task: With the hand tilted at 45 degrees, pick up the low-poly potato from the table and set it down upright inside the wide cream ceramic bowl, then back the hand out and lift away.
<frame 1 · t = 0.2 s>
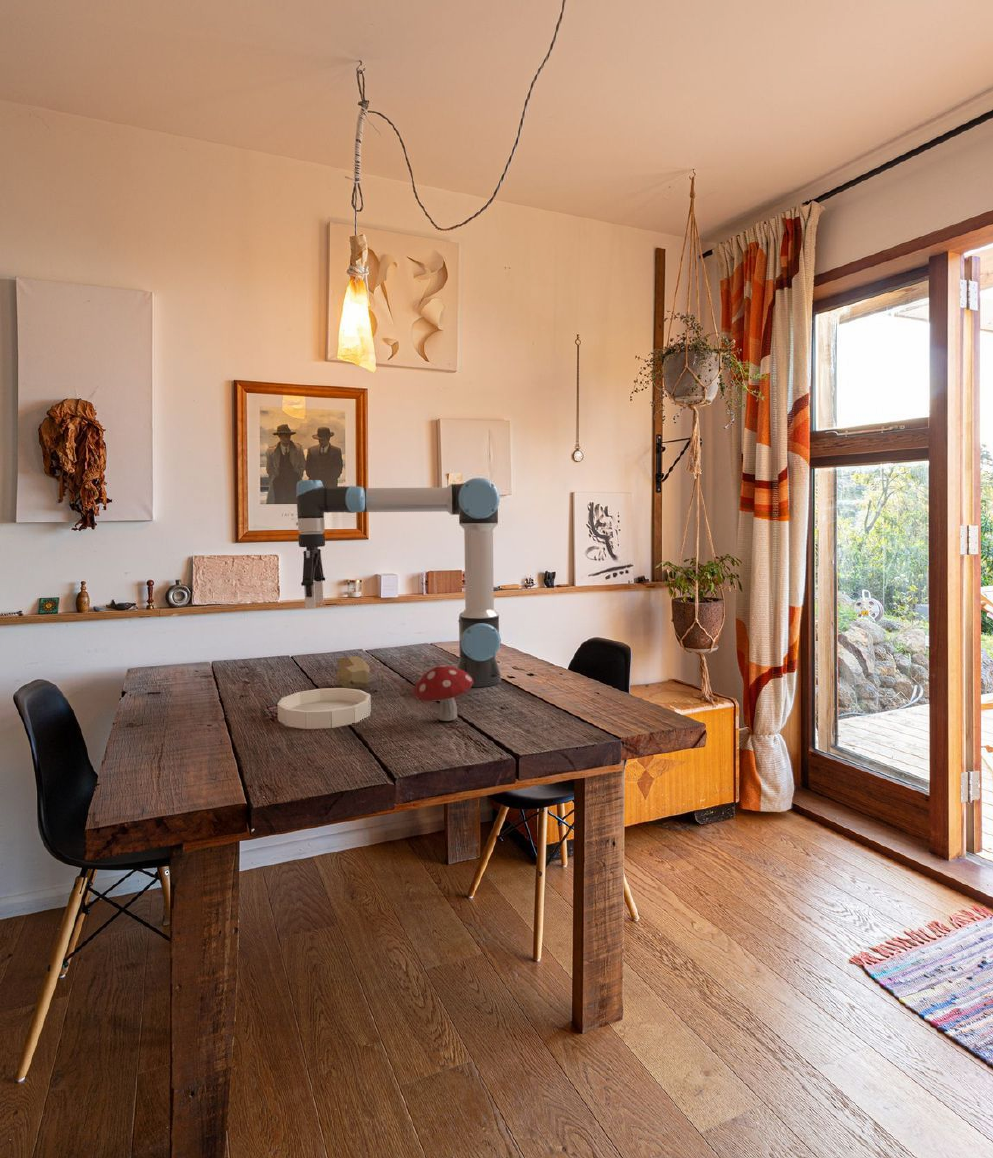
hand: (314, 605, 204), 28 cm above the table, tool pointing down, fingers open, 13 cm apart
cream bowl: (325, 714, 188), on the table
low-poly potato: (351, 689, 217), on the table
decorative mushroom: (444, 722, 182), on the table
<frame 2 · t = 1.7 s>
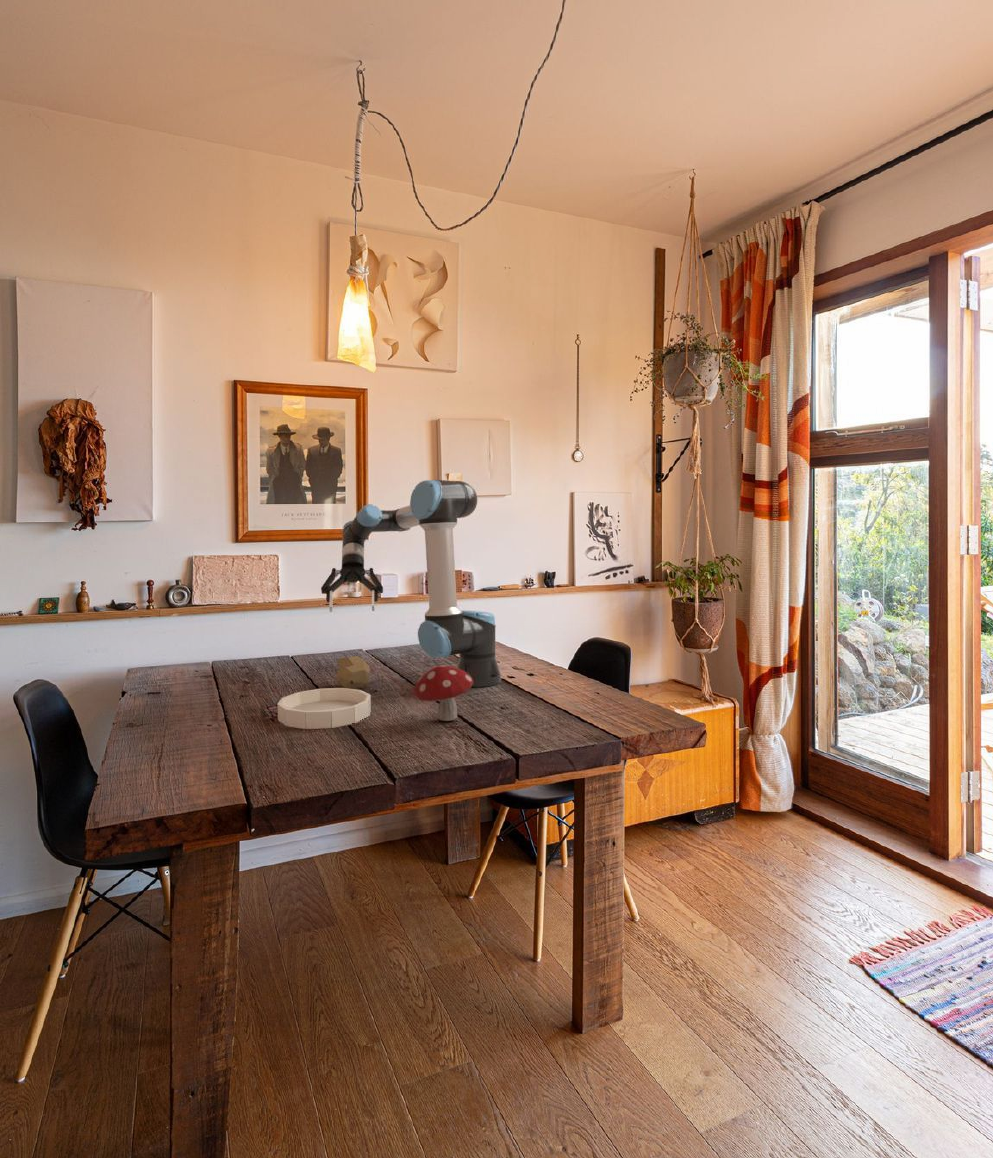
hand: (352, 608, 226), 24 cm above the table, tool tilted 45°, fingers open, 13 cm apart
nothing on the table moved.
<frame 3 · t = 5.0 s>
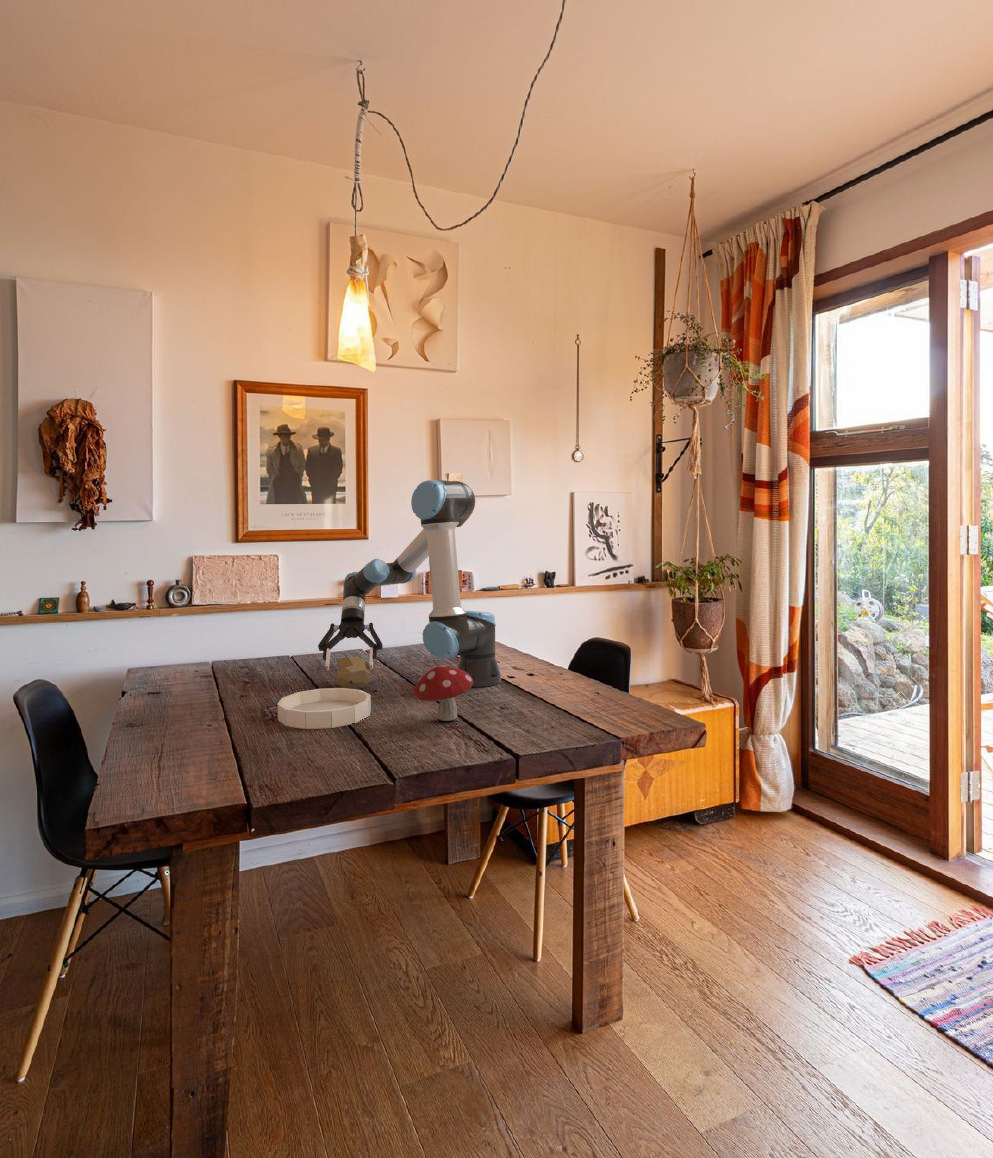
hand: (349, 667, 217), 7 cm above the table, tool tilted 45°, fingers open, 13 cm apart
nothing on the table moved.
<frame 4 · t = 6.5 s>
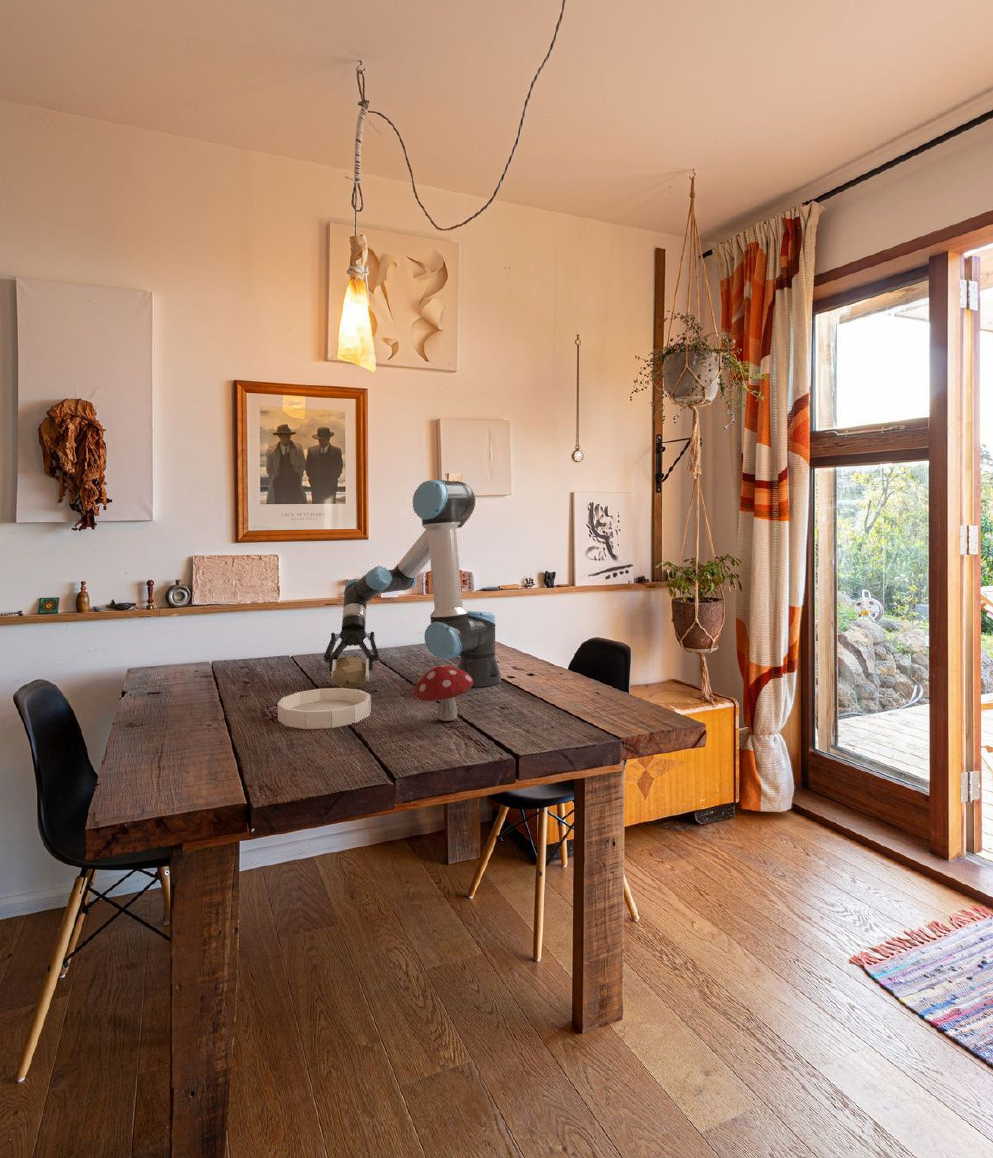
hand: (350, 679, 213), 4 cm above the table, tool tilted 45°, fingers closed on low-poly potato, 10 cm apart
low-poly potato: (348, 689, 217), on the table, touching gripper
everything else where it was.
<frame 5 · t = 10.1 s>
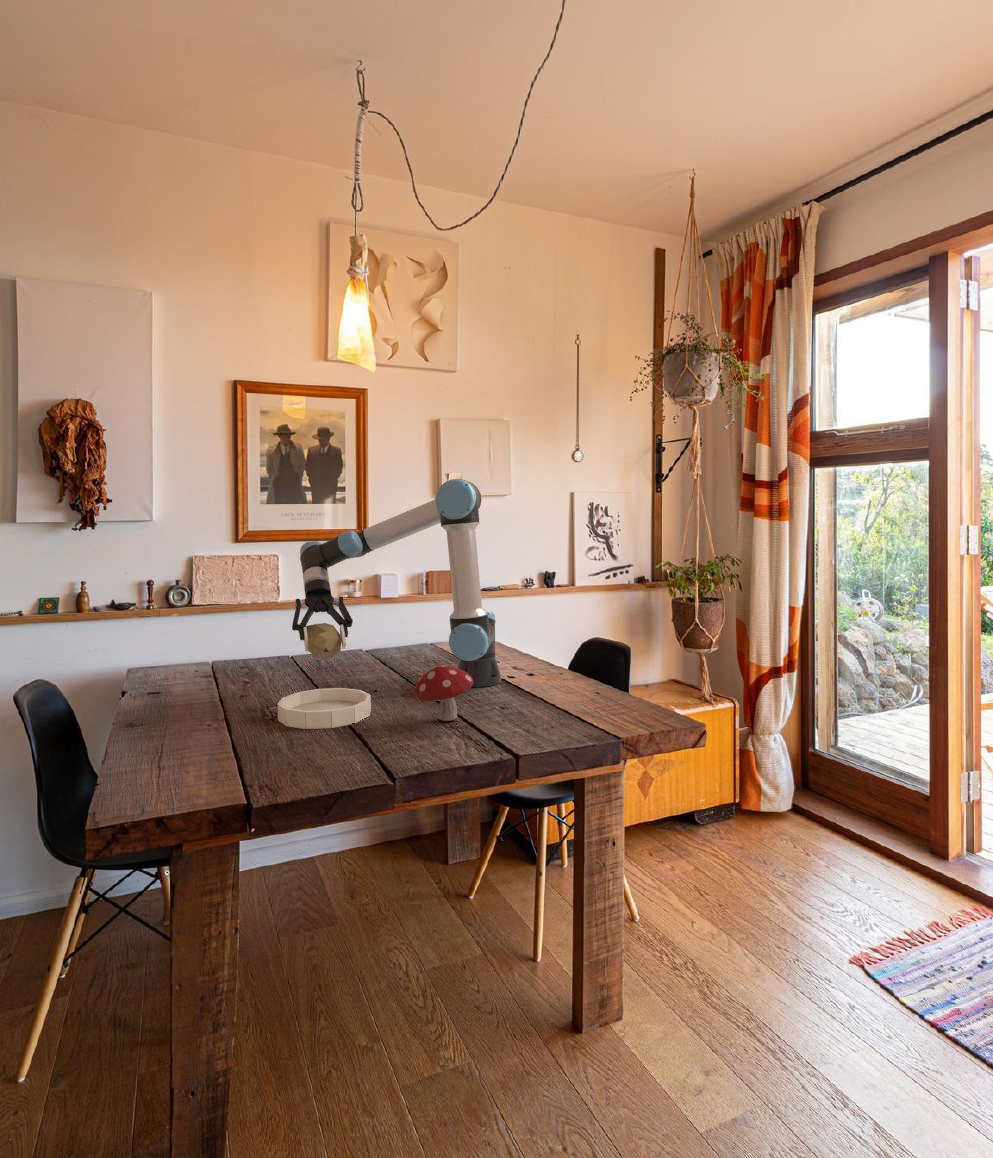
hand: (325, 647, 194), 17 cm above the table, tool tilted 45°, fingers closed on low-poly potato, 10 cm apart
low-poly potato: (321, 659, 198), point 13 cm above the table, touching gripper
everything else where it was.
when the fingers open (6 cm above the table, at t = 14.1 s): low-poly potato drops 1 cm, resting on cream bowl.
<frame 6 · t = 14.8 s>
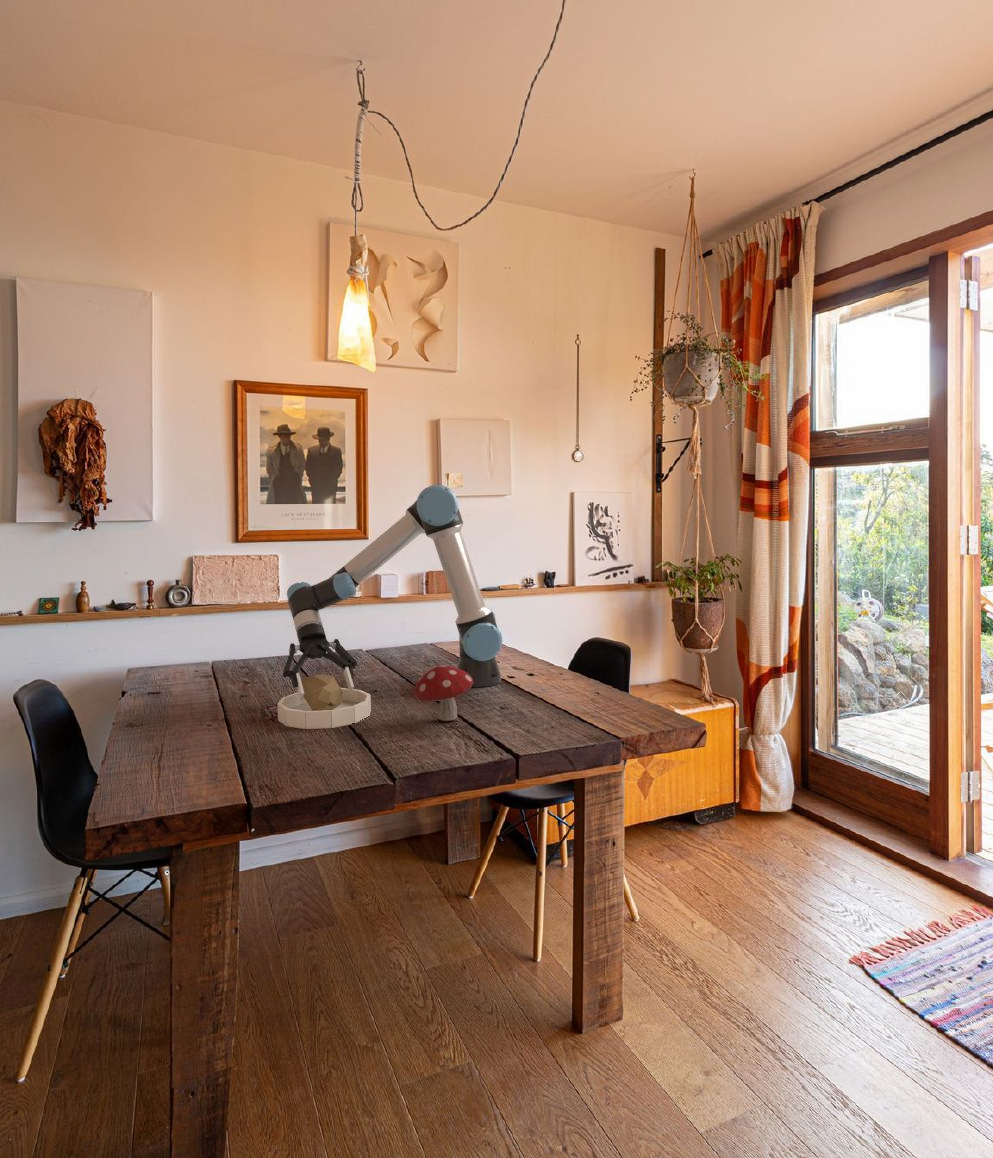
hand: (327, 692, 186), 7 cm above the table, tool tilted 45°, fingers open, 13 cm apart
low-poly potato: (322, 712, 188), point 1 cm above the table, touching cream bowl
everything else where it was.
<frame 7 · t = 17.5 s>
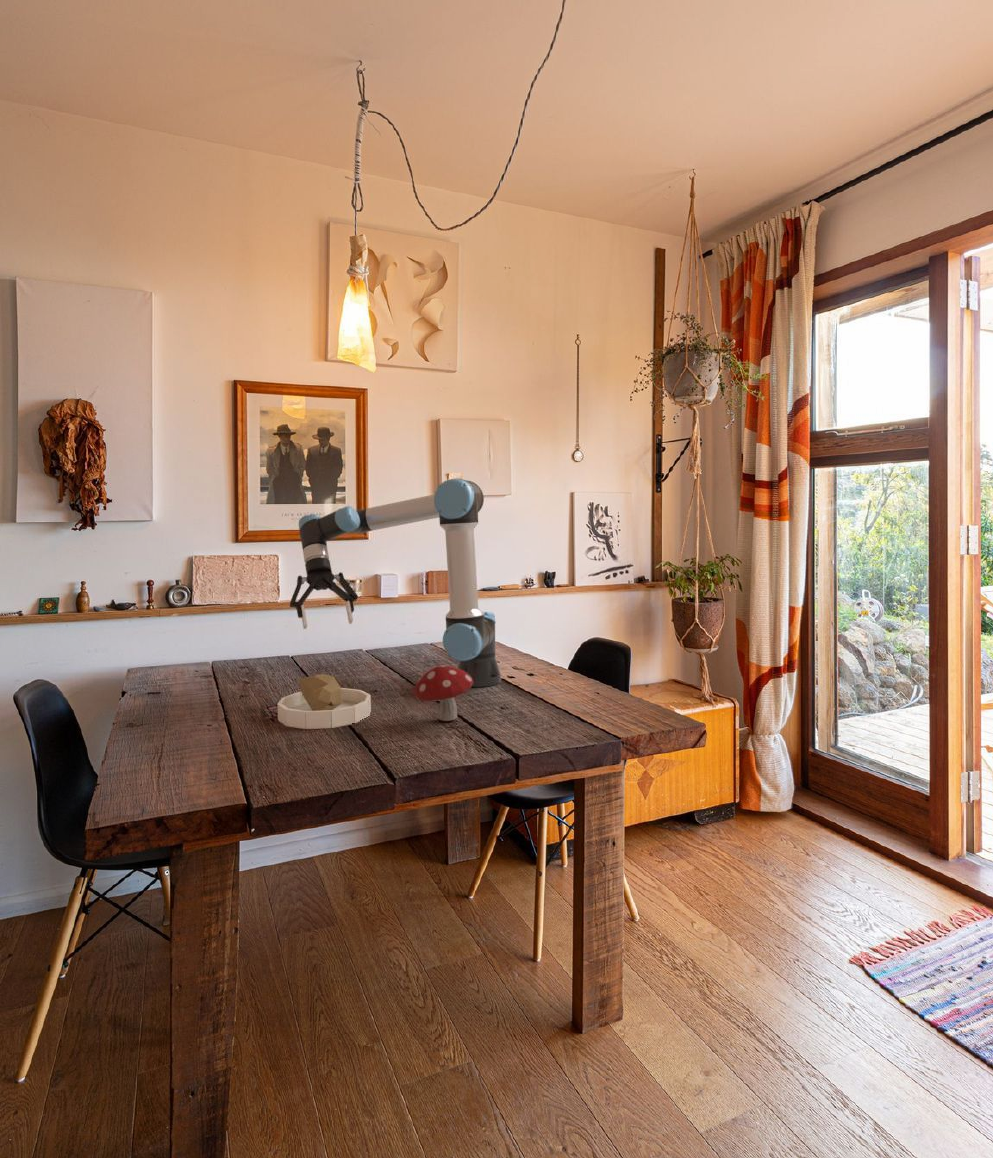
hand: (328, 624, 207), 22 cm above the table, tool tilted 30°, fingers open, 13 cm apart
nothing on the table moved.
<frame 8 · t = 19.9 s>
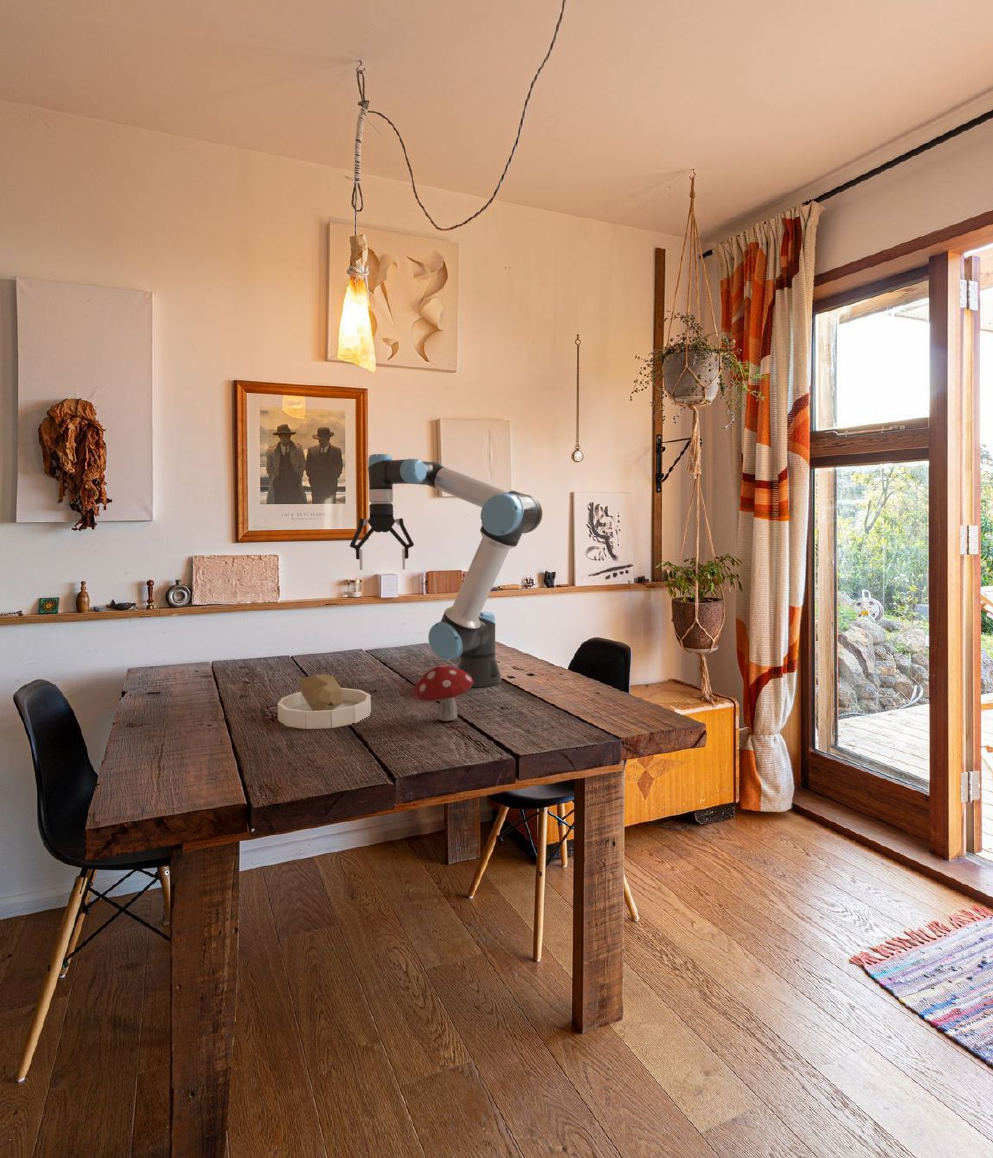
hand: (382, 569, 223), 37 cm above the table, tool pointing down, fingers open, 13 cm apart
nothing on the table moved.
at the end: low-poly potato inside the target area on the cream bowl (0.9 cm from its centre), point 0.8 cm above the cream bowl's base; low-poly potato tilted 0°; the gripper is holding nothing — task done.
